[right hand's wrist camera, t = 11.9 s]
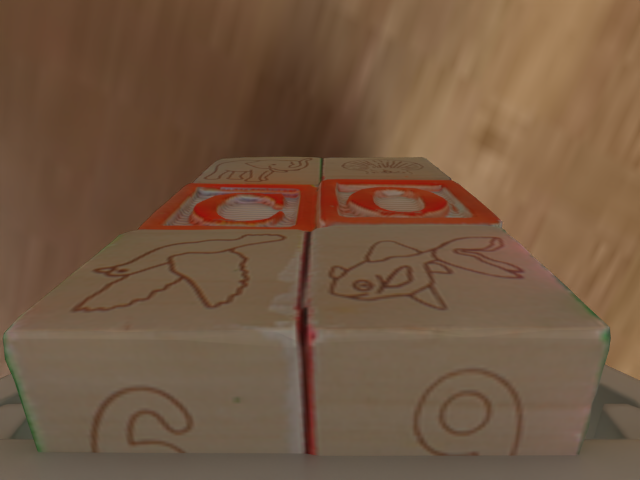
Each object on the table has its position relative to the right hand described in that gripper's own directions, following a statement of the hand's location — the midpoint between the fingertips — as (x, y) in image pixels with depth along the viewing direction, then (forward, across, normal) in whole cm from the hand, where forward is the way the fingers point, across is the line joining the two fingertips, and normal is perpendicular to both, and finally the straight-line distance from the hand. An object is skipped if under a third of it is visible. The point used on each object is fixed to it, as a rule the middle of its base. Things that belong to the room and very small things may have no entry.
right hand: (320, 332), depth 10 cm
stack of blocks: (+4, 0, -7) cm, 8 cm away
